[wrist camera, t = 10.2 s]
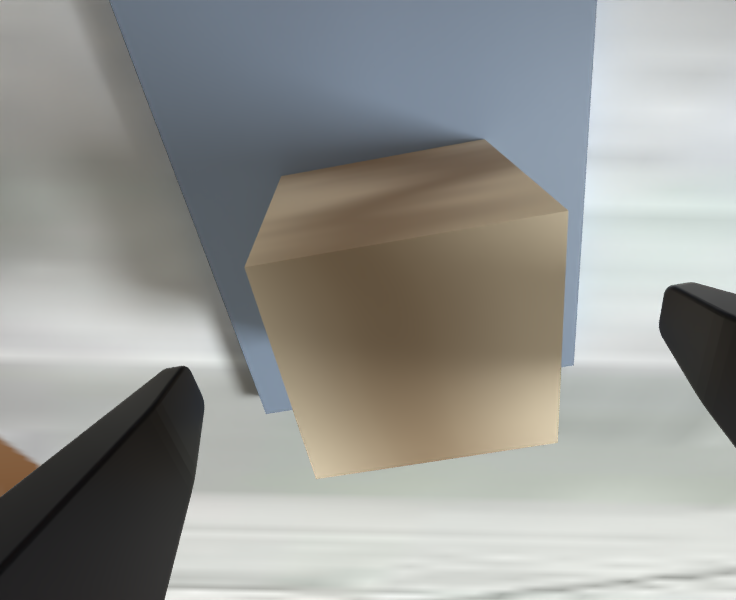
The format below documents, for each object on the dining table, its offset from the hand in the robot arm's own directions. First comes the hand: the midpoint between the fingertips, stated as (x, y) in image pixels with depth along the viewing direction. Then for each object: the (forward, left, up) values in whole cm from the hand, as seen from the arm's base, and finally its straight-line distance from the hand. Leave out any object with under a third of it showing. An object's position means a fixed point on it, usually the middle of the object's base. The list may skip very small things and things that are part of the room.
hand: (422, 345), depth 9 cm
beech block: (0, 0, -4) cm, 4 cm away
